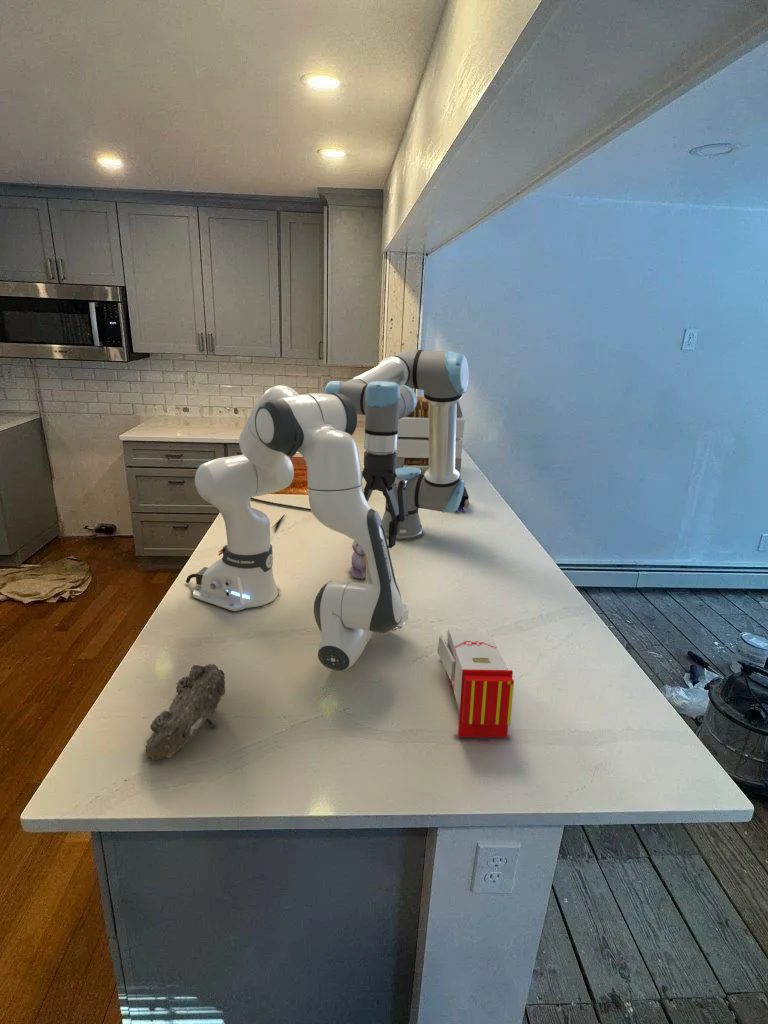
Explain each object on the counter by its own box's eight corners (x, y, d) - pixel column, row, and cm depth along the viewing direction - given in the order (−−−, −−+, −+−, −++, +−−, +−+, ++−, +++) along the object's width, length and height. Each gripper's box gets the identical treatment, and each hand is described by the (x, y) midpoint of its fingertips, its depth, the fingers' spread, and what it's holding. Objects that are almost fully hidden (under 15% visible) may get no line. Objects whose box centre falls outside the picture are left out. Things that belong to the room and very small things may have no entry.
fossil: (174, 665, 116) (226, 633, 111) (207, 696, 118) (259, 665, 113) (119, 753, 96) (179, 718, 91) (161, 787, 99) (221, 755, 94)
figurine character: (469, 517, 223) (463, 501, 236) (471, 500, 219) (465, 484, 233) (452, 516, 222) (447, 500, 236) (454, 499, 219) (449, 483, 232)
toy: (488, 613, 130) (523, 677, 101) (484, 667, 133) (517, 744, 104) (435, 612, 130) (455, 676, 101) (432, 666, 133) (451, 743, 103)
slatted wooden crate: (382, 463, 289) (386, 382, 275) (445, 464, 293) (451, 384, 279) (390, 482, 257) (394, 392, 243) (460, 483, 261) (468, 394, 247)
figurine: (357, 582, 163) (358, 534, 158) (342, 568, 171) (343, 521, 166) (386, 576, 167) (388, 529, 162) (370, 563, 176) (372, 517, 171)
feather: (291, 508, 223) (294, 504, 222) (274, 533, 196) (277, 528, 195) (287, 506, 222) (290, 502, 222) (270, 530, 196) (272, 526, 195)
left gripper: (401, 618, 127) (416, 591, 140) (317, 602, 133) (338, 577, 145) (400, 642, 130) (414, 613, 142) (317, 625, 135) (337, 599, 147)
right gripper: (427, 454, 129) (421, 546, 137) (349, 442, 137) (347, 529, 145) (415, 461, 123) (408, 557, 131) (333, 448, 131) (332, 539, 139)
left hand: (375, 595), depth 144 cm, fingers closed on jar, 5 cm apart
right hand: (376, 542), depth 138 cm, fingers open, 7 cm apart
